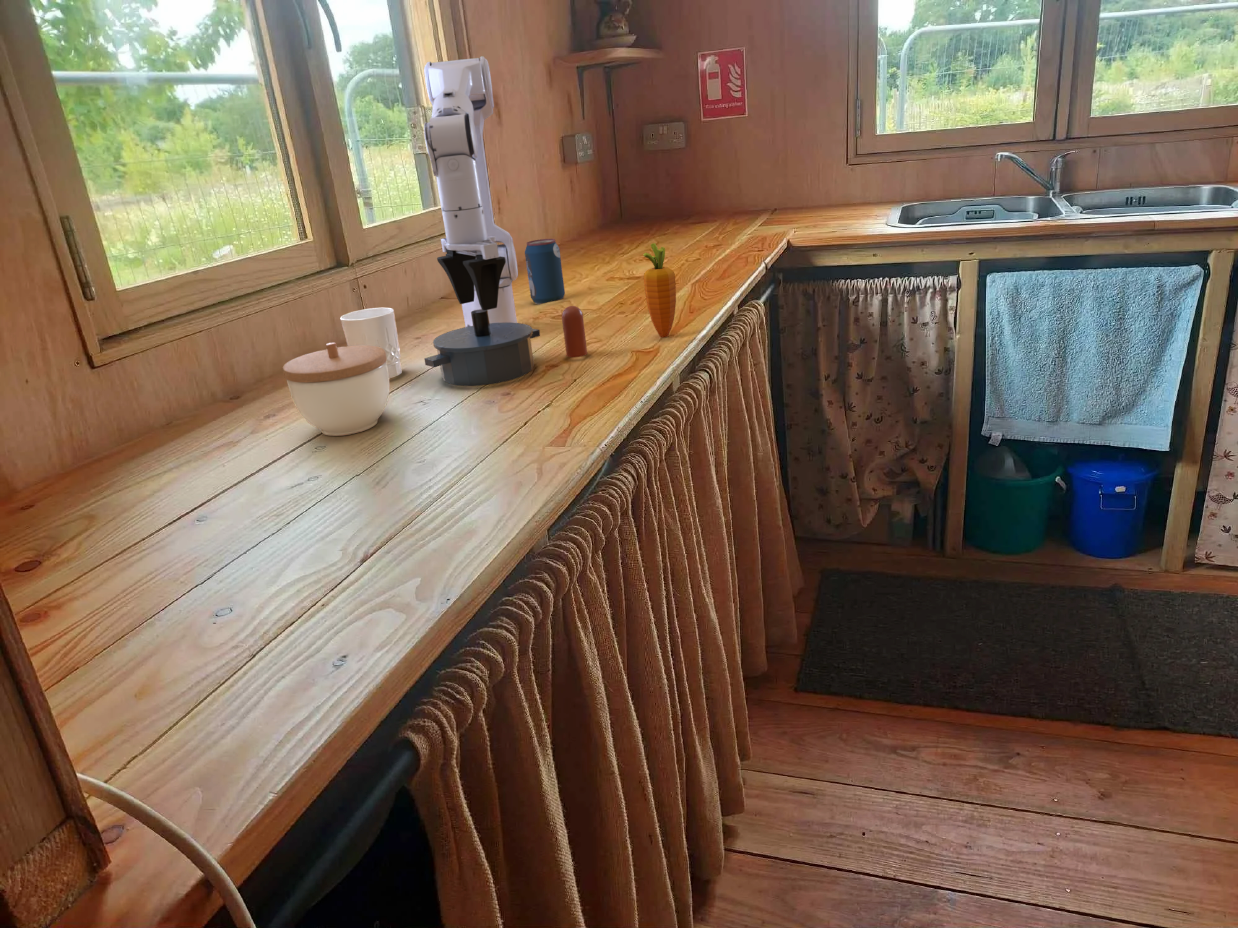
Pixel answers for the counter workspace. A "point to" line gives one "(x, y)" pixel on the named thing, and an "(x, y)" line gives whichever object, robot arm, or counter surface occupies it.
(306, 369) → the lidded bowl
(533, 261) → the soda can
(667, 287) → the carrot
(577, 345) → the sausage
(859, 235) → the counter surface
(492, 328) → the lid
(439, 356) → the pot
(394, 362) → the white cup
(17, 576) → the counter surface
